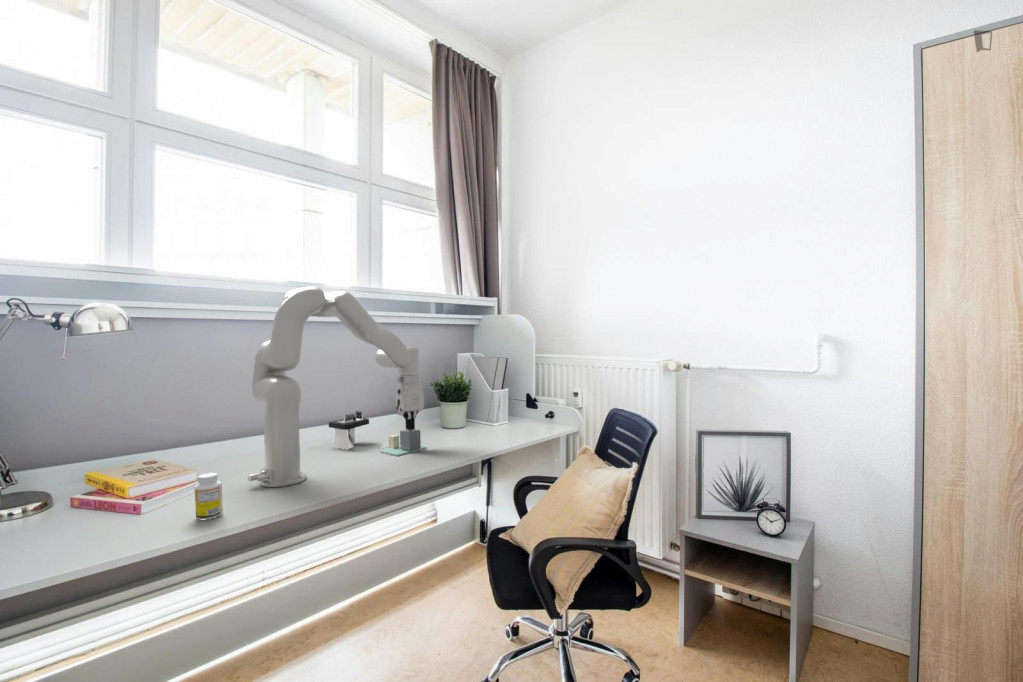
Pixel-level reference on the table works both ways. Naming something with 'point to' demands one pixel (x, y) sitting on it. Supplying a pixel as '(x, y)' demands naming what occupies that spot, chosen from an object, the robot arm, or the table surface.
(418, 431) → the grey block
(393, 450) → the board
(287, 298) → the robot arm
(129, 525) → the table surface
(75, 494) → the table surface
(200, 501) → the supplement bottle
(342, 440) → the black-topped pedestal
